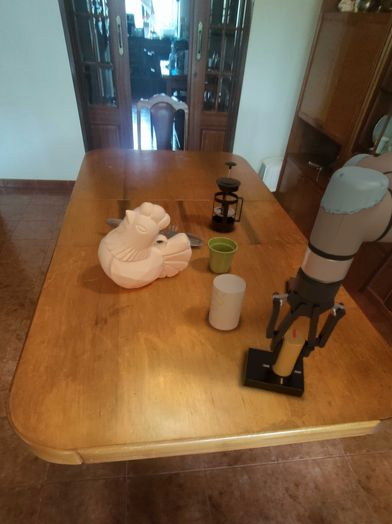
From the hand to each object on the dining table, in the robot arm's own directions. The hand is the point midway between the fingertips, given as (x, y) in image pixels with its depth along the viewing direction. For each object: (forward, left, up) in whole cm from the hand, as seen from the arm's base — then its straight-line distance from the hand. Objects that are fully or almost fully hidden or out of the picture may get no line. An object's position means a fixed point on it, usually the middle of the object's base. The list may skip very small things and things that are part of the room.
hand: (284, 362), depth 70 cm
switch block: (-7, -35, -5) cm, 36 cm away
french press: (+24, -71, -5) cm, 75 cm away
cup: (+16, -16, -5) cm, 23 cm away
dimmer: (+2, 0, -5) cm, 5 cm away
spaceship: (+46, -51, -5) cm, 69 cm away
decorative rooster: (+41, -27, -5) cm, 49 cm away
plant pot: (+21, -41, -5) cm, 46 cm away
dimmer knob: (0, 0, -2) cm, 2 cm away
